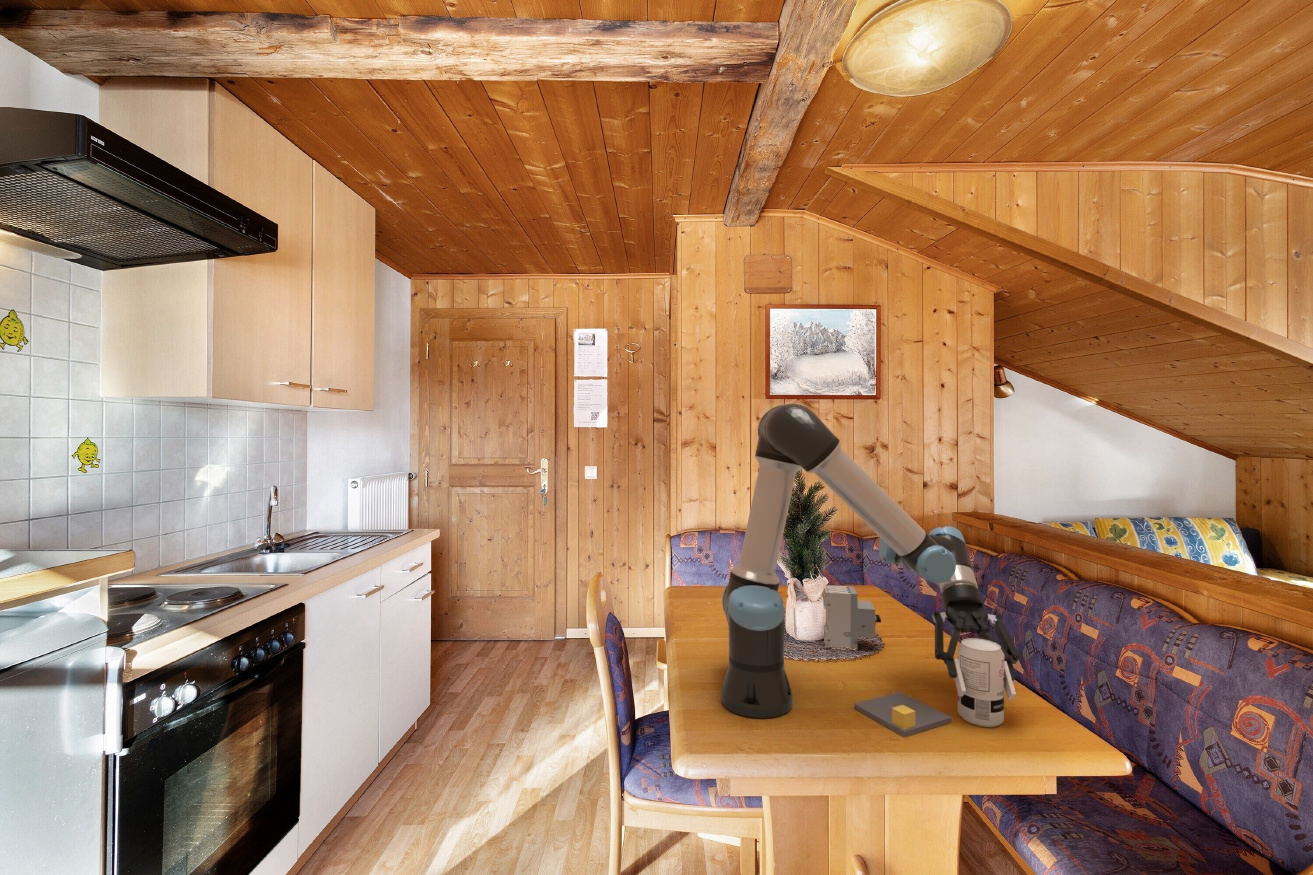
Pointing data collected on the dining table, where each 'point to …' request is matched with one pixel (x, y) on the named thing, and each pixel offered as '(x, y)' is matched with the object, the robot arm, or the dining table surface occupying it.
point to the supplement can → (982, 682)
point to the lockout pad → (902, 699)
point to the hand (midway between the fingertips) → (986, 695)
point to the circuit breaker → (847, 617)
